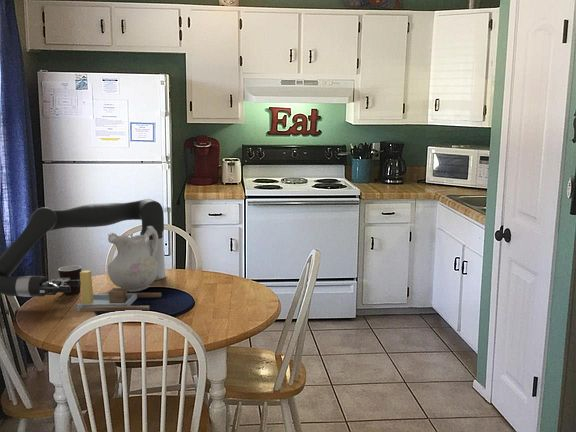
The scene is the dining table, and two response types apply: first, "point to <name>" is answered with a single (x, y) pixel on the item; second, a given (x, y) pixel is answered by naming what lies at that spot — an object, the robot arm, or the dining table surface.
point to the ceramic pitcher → (134, 261)
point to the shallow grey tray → (97, 299)
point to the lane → (119, 308)
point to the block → (118, 295)
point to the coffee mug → (71, 277)
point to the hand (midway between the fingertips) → (74, 286)
